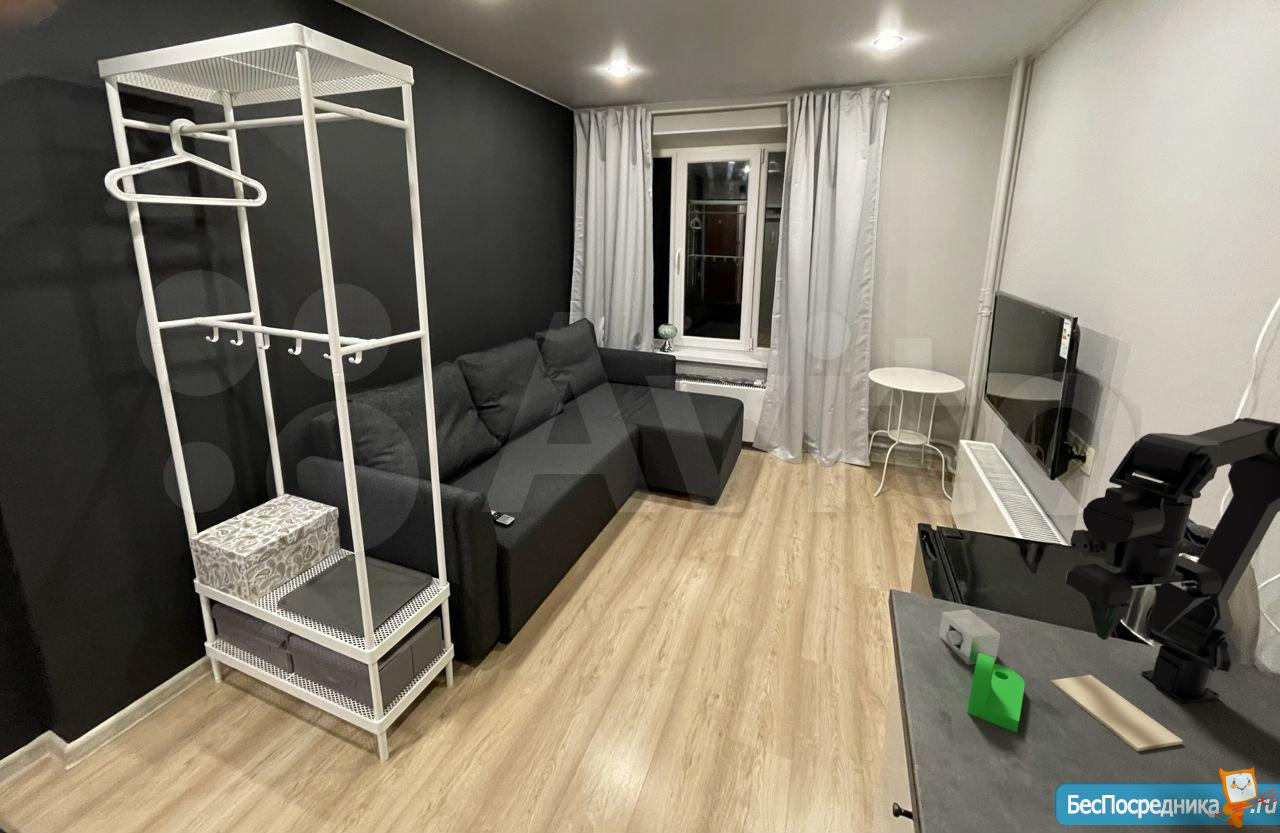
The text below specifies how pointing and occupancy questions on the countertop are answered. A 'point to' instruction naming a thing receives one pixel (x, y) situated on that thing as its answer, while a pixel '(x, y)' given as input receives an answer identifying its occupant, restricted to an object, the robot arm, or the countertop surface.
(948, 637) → the shaft
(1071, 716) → the countertop surface
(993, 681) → the mechanical part
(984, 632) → the bearing block
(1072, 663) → the countertop surface
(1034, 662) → the countertop surface
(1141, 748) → the beige wooden board
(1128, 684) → the countertop surface
